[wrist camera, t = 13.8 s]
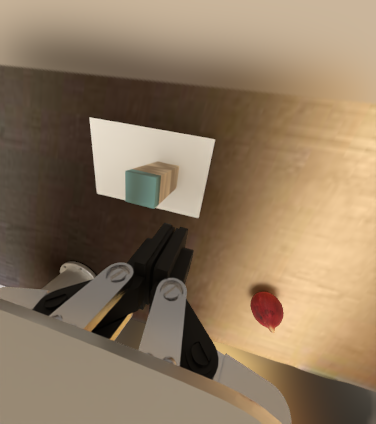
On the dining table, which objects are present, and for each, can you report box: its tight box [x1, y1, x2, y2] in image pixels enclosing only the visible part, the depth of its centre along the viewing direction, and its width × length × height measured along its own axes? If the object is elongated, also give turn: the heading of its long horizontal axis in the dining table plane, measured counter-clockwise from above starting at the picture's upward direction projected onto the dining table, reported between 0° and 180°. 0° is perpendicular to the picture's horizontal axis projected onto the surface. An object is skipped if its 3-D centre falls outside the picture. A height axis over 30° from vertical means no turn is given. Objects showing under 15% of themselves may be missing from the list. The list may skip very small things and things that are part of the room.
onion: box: [251, 292, 283, 333], centre depth 32 cm, size 6×6×8 cm
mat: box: [89, 117, 215, 218], centre depth 29 cm, size 22×14×1 cm, turn 81°
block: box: [125, 161, 179, 209], centre depth 24 cm, size 4×4×10 cm
